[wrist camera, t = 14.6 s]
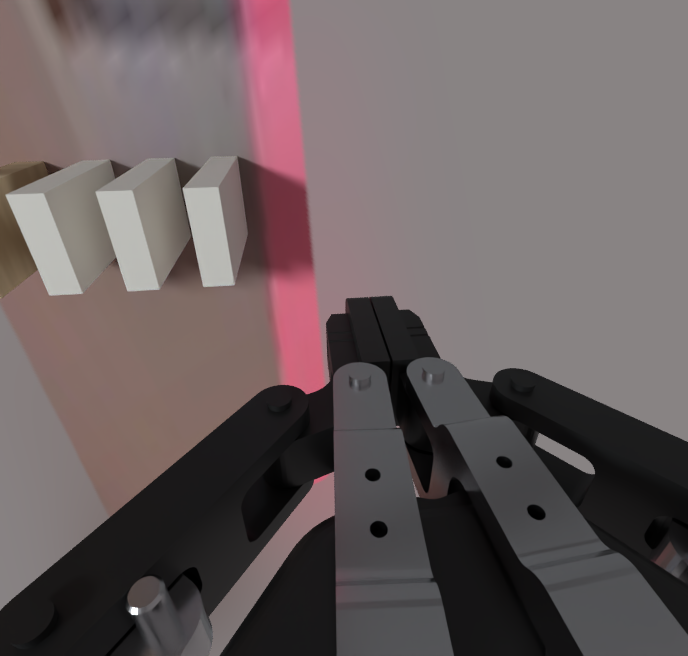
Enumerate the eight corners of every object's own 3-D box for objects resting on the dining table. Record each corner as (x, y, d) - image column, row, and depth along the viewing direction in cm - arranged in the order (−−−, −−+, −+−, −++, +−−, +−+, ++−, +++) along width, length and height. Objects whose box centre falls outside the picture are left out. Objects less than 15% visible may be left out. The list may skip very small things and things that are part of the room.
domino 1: (15, 162, 25) (-89, 197, 18) (43, 161, 25) (-49, 196, 18) (47, 242, 27) (-33, 299, 21) (72, 241, 27) (2, 298, 21)
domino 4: (211, 156, 26) (182, 188, 19) (237, 156, 26) (218, 186, 19) (224, 234, 28) (203, 286, 22) (248, 233, 28) (234, 285, 22)
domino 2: (82, 160, 25) (5, 194, 18) (110, 159, 25) (43, 193, 18) (108, 240, 28) (49, 295, 21) (133, 239, 28) (82, 293, 21)
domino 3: (147, 158, 25) (95, 191, 19) (174, 157, 25) (132, 190, 19) (167, 237, 28) (127, 291, 21) (191, 236, 28) (159, 289, 21)
